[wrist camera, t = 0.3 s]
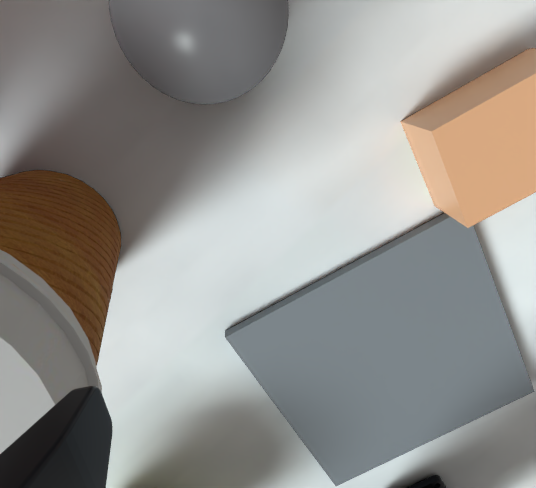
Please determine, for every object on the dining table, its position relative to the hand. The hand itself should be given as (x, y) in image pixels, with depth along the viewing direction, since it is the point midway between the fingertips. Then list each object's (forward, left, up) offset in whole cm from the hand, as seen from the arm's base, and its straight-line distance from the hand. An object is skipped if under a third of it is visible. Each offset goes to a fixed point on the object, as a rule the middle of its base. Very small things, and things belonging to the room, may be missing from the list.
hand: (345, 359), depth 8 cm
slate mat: (-13, -1, -14) cm, 19 cm away
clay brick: (-3, -10, -14) cm, 17 cm away
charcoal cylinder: (+7, -1, -14) cm, 15 cm away
